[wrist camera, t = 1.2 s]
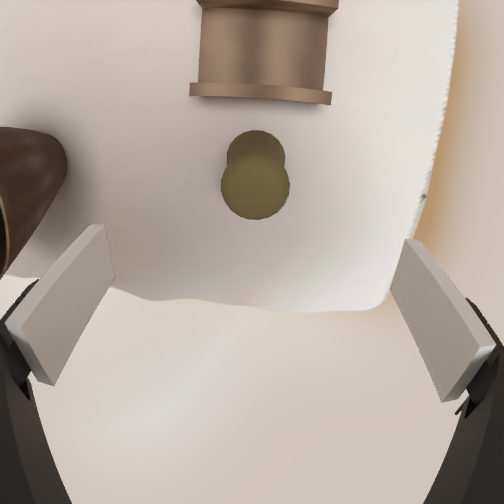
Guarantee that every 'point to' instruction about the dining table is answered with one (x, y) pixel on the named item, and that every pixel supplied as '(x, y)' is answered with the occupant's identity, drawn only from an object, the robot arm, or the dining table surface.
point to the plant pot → (26, 186)
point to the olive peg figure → (255, 176)
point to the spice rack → (264, 49)
